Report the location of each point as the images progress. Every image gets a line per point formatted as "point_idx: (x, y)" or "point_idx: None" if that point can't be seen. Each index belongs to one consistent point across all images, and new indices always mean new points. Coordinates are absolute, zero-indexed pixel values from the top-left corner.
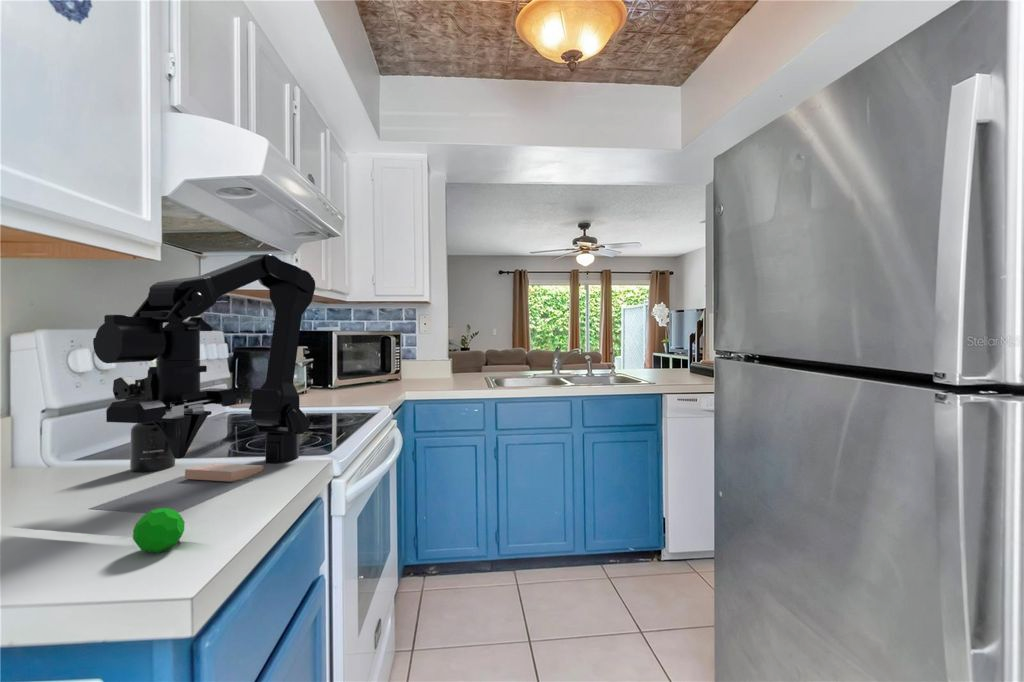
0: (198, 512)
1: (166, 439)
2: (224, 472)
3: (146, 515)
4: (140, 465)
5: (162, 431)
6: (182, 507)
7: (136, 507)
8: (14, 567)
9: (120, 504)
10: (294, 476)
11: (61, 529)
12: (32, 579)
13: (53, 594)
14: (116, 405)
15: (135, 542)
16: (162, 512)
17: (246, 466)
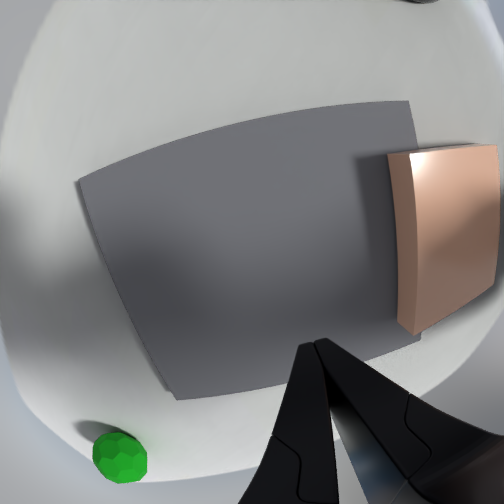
0: (231, 394)
1: (273, 435)
2: (413, 313)
3: (101, 469)
4: None
5: (245, 498)
6: (210, 385)
7: (148, 293)
8: (5, 338)
9: (133, 224)
10: (463, 345)
11: (36, 239)
12: (25, 382)
13: (45, 419)
14: None
15: (98, 438)
16: (116, 482)
17: (483, 266)
